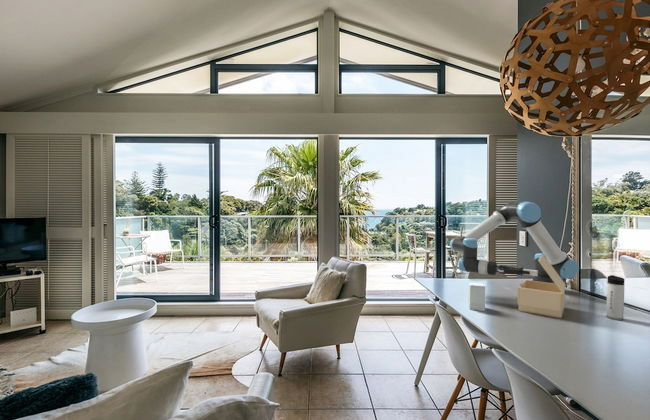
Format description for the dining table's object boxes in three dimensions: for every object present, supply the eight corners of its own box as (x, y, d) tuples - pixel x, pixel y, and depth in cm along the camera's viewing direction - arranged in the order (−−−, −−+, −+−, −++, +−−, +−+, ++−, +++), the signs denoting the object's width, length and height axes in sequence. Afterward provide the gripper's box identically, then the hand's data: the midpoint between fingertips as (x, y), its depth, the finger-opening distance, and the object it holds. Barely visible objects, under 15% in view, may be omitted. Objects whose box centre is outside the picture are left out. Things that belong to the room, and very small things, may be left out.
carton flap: (542, 255, 185) (543, 254, 185) (564, 285, 179) (565, 284, 179) (537, 260, 169) (539, 259, 168) (562, 293, 163) (563, 292, 162)
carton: (523, 300, 192) (524, 279, 191) (564, 307, 180) (564, 284, 180) (516, 310, 173) (517, 287, 173) (561, 318, 162) (562, 293, 162)
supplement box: (485, 311, 172) (485, 286, 172) (469, 309, 175) (469, 285, 174) (483, 307, 179) (484, 283, 179) (468, 305, 182) (468, 281, 181)
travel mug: (618, 316, 166) (619, 275, 166) (626, 321, 160) (627, 278, 159) (603, 315, 168) (604, 274, 167) (610, 319, 161) (611, 277, 161)
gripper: (490, 272, 196) (538, 278, 182) (485, 276, 186) (535, 282, 171) (490, 259, 196) (539, 264, 182) (485, 262, 186) (535, 267, 171)
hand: (537, 273), depth 176 cm, fingers closed
